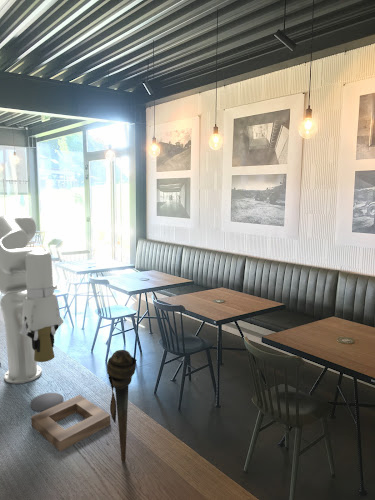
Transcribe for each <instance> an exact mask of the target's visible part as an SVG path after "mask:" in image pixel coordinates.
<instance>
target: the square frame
mask: <svg viewBox="0 0 375 500" xmlns="http://www.w3.org/2000/svg"><path fill="white" fill-rule="evenodd" d="M75 414H78V415H79V416H81V417H82V418H83V420H81V421H79V422H77V423H75V424H73V425H71V426H69V427H67V428H63V427H62V426H61V425H60V424H59V423H58V422H60V421H62V420H64V419H66V418H68V417H70V416H72V415H75ZM30 421H31V427H32V428H33V429H35V430H36V431H37V433H39V434H40V435H41V436H42V437H43V438H44V439H45V440H47V441H48V442H49V443H50V444H51V445H52V446H53V447H54V448H56V449H57V450H58V451H59V452H63V451H64V450H66V449H68V448H71V447H72V446H73V445H74V446H75V444H78V443H79V442H81V441H83V440H84V439H86V438H88V437H90V436H92V435H94V434H95V433H97V432H100V431H101V430H104V429H105V428H107V427H108V426H110V425H111V414H109V413H108V412H106V411H104V410H103V409H102V408H100V407H98V406H97V405H95V404H94V403H92V402H91V401H90V400H88V399H87V398H86V397H84V396H82V395H81V394H78V395H75V396H74V397H72V398H70V399H67V400H65V401H63V403H60V404H58V405H56V406H54V407H52V408H49V409H47V410H45V411H43V412H38V413H36V414H34V415H31V416H30Z"/></svg>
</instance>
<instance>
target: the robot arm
mask: <svg viewBox="0 0 375 500" xmlns="http://www.w3.org/2000/svg"><path fill="white" fill-rule="evenodd" d="M36 233H37V224H36V221H35V219H34V218H33V217H32V216H30V215H28V214H19V215H17V214H16V215H14V214H13V215H12V214H11V215H1V216H0V292H1V294H4V295H3V296H2V297H1V298H0V311H1V313H2V318H3V322H4V329H5V330H4V331H5V341H6V353H7V366H8V370H7V371H6V372H5V373H4V376H3V377H4V381H5V382H6V383H9V384H16V385H17V384H25V383H29V382H32V381H34V380H36V379H38V378H39V377H40V376H41V375H42V373H43V372H42V371H43V370H42V369H43V368H41V366H39V365H38V362H36V361H35V360H34V353H35V349H36V350H37V352H40V340H39V339H38V330H40V329H42V328H44V327H50V326H51V333H50V338H51V343H52V348H54V344H55V335H56V332H57V331H58V329H59V327H60V326H61V325H62V324H63V323H64V320H63V318H62V317H61V316H60V310H59V309H60V308H59V303H58V300H57V299H58V298H57V295H56V293H55V290H57V289H58V287H57V285H56V284H54V280H53V263H52V254H51V253H50V252H49V251H47V250H46V249H45V248H44V247H42V246H32V247H31V246H30V247H27V245H28V244H29V243H30V241H32V239H33V238H34V236H35V235H36Z"/></svg>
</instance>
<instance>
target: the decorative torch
mask: <svg viewBox="0 0 375 500" xmlns="http://www.w3.org/2000/svg"><path fill="white" fill-rule="evenodd" d="M136 367H137V359H136V358H135V357H133V356H132V355H131V353H130V351H128V350H125V349H120V350H119V349H118V350H115V352H113V354H112V355H111V356H110V357H109V358H108V360H107V364H106V372H107V375H108V381H109V383H110V387H111V393H112V394H111V398H110V399H111V400H110V404H109V405H110V406H109V409H110V410H109V411H110V417H111V418H112V420H113V423H114V424H116V419H117V424H118V425H117V426H118V434H119V445H120V456H121V457H120V459H121V460H120V461H122V462H124V463H125V462H126V459H127V458H126V456H127V436H128V435H127V430H128V408H129V407H128V406H129V405H128V404H129V403H128V402H129V385H130V384H131V383H132V379H133V376H134V374H135V372H136V369H137V368H136ZM114 390H115V393H114Z"/></svg>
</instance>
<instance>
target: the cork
mask: <svg viewBox="0 0 375 500" xmlns="http://www.w3.org/2000/svg"><path fill="white" fill-rule="evenodd" d="M50 333H51V326H50V327H44V328H42V329H40V330H38V339H39V340H40V352H37V350H36V349H35V353H34V360H35V361H36V362H37V363H45V362H49V361H51V360H53V359H54V358H55V352H54V349H53V348H54V347H53V348H52V343H51V338H50Z"/></svg>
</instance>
